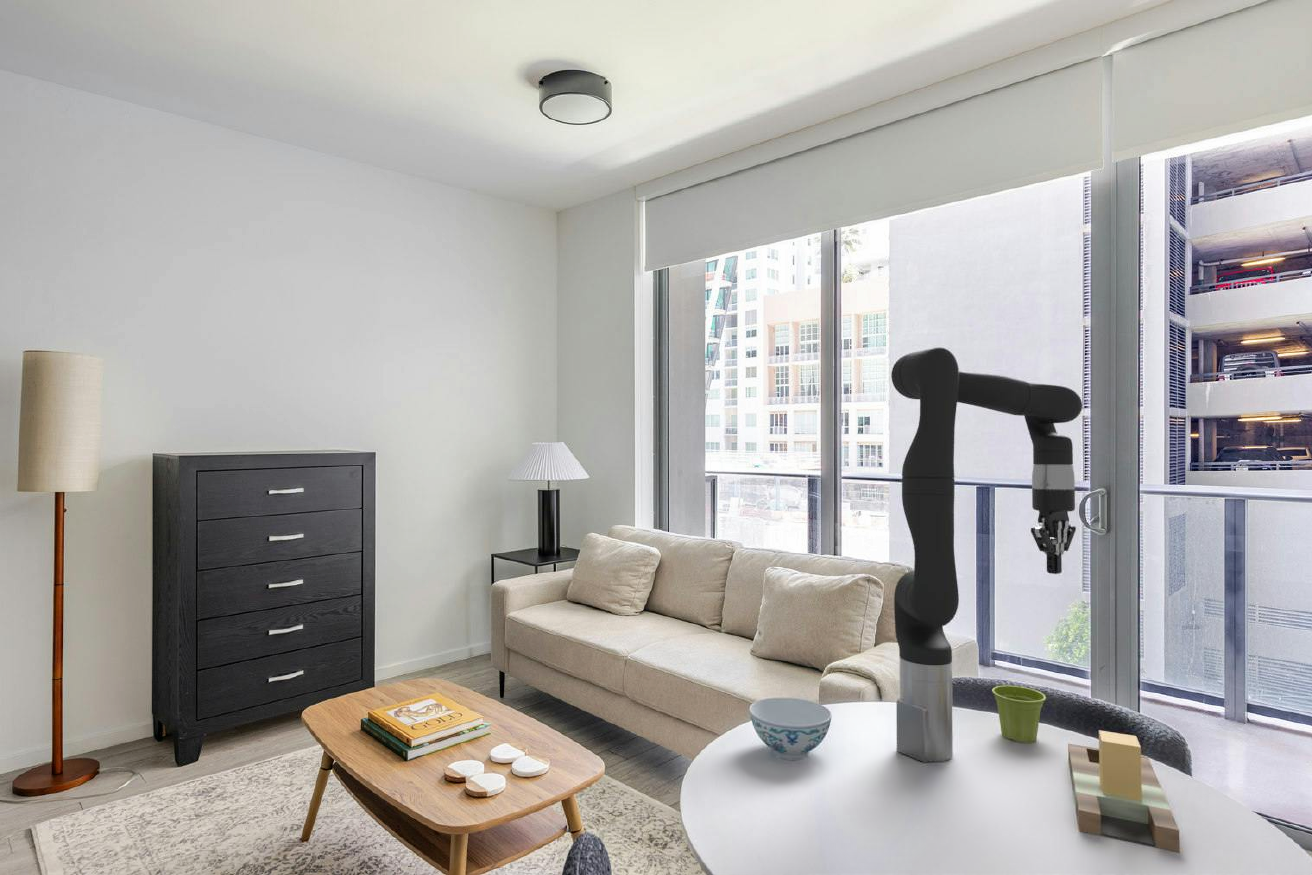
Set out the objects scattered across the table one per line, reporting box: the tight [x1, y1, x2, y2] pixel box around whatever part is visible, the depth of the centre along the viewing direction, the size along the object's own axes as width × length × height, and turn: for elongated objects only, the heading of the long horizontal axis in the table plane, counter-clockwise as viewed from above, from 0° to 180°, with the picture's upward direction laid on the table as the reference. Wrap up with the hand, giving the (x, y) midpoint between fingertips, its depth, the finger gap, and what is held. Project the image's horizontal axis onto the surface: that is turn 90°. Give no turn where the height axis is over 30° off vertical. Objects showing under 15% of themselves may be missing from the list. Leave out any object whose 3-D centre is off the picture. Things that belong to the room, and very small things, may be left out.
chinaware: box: [749, 696, 832, 761], centre depth 130 cm, size 15×15×8 cm
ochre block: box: [1098, 729, 1142, 801], centre depth 110 cm, size 5×5×8 cm
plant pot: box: [991, 685, 1047, 744], centre depth 139 cm, size 9×9×9 cm
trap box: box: [1067, 743, 1181, 853], centre depth 113 cm, size 28×12×3 cm, turn 152°
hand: (1054, 573), depth 141 cm, fingers closed
